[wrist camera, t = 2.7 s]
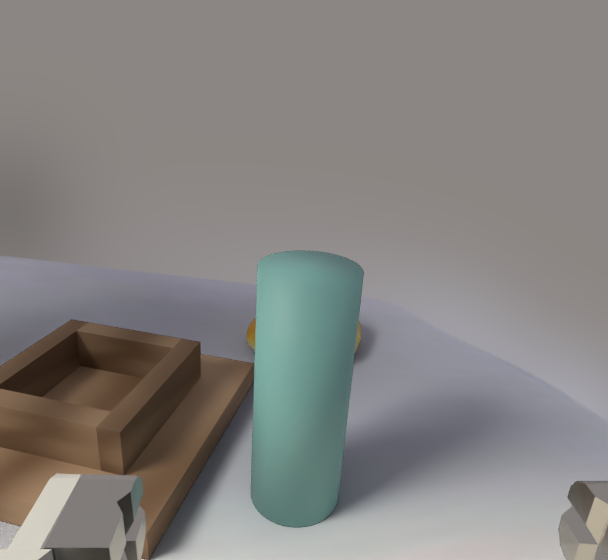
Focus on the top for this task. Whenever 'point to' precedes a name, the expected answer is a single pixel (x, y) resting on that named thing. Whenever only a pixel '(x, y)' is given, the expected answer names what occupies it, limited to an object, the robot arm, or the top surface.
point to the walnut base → (113, 415)
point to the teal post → (302, 382)
